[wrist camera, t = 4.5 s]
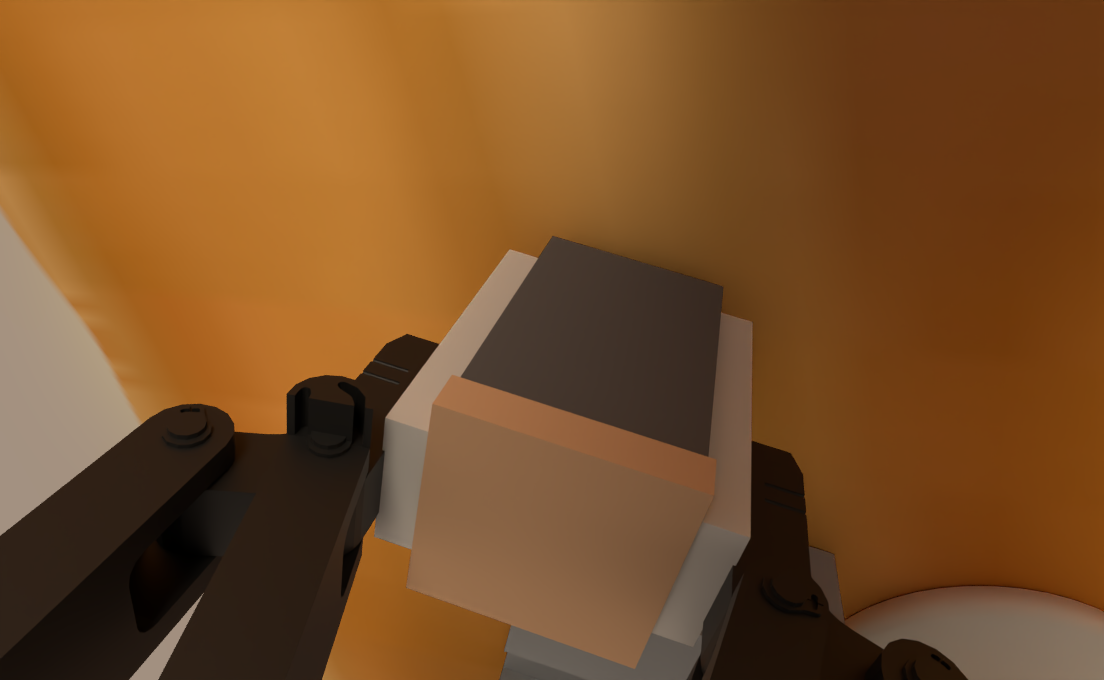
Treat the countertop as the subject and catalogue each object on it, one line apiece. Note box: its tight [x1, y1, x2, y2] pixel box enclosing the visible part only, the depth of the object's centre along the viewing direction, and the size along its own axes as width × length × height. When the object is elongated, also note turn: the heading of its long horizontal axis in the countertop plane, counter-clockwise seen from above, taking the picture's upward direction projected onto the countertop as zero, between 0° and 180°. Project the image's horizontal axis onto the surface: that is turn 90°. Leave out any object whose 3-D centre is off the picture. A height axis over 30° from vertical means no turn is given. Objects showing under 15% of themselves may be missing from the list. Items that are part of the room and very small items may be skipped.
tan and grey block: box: [406, 236, 723, 669], centre depth 14 cm, size 4×4×7 cm
